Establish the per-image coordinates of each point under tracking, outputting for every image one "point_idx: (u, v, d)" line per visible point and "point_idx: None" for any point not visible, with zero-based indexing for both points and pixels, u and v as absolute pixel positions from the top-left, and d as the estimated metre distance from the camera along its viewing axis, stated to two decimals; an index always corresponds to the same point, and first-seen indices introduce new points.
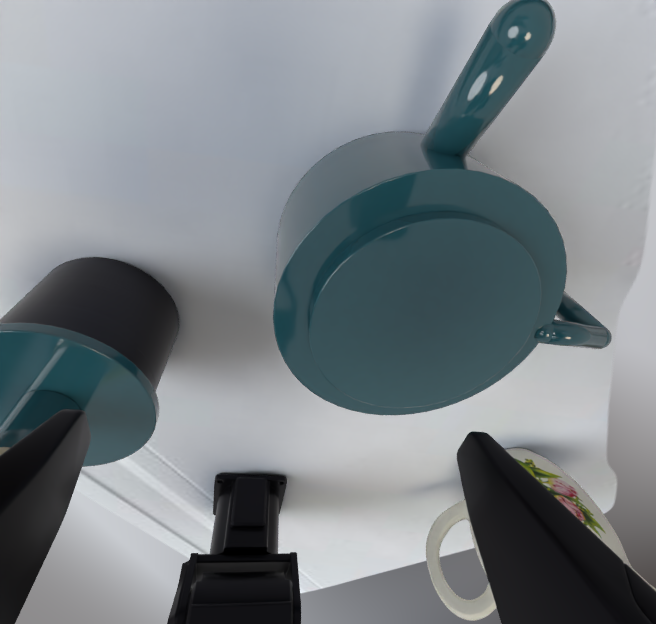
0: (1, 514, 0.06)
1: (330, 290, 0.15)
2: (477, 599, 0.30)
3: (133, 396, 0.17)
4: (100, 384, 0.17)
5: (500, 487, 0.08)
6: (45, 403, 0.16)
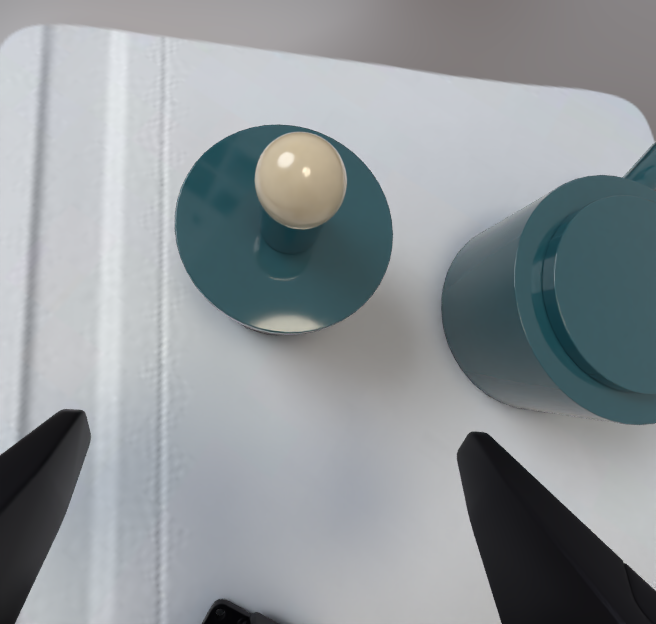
0: (1, 514, 0.06)
1: (582, 218, 0.18)
2: None
3: (376, 249, 0.16)
4: (358, 221, 0.16)
5: (500, 487, 0.08)
6: None
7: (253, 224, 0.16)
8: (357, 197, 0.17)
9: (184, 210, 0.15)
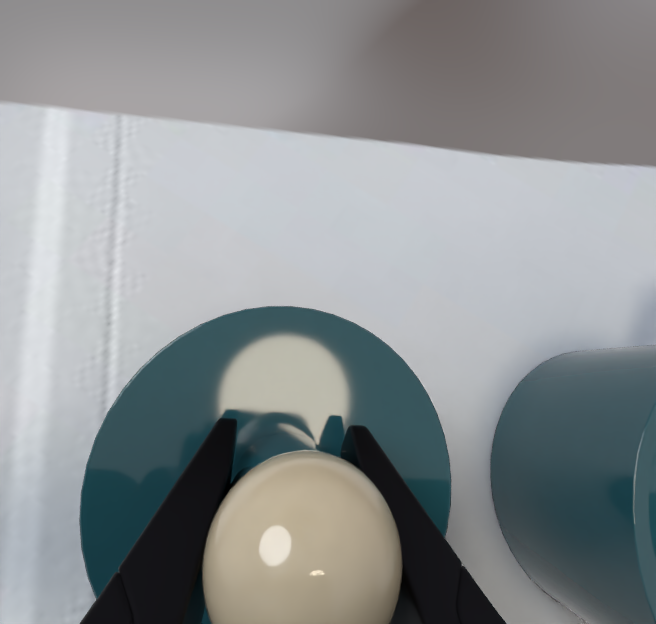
0: None
1: None
2: None
3: None
4: (396, 465, 0.10)
5: None
6: None
7: None
8: (394, 422, 0.10)
9: (98, 482, 0.09)
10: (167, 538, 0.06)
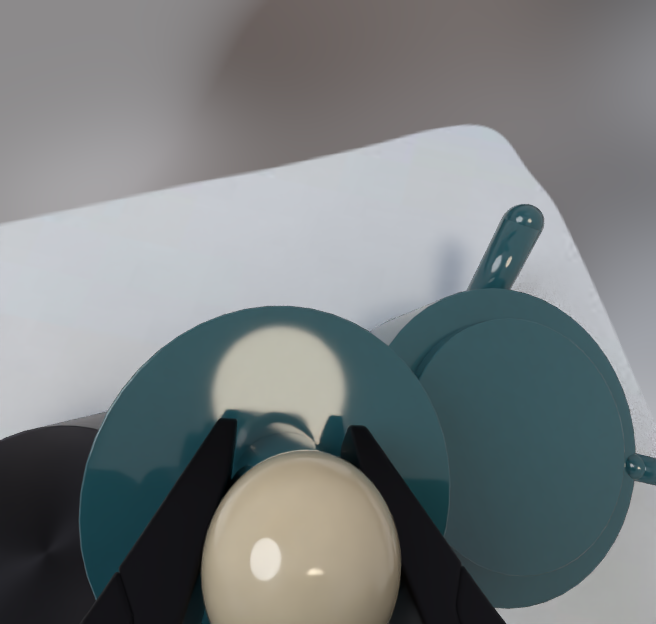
0: None
1: (427, 380, 0.15)
2: None
3: None
4: (395, 465, 0.10)
5: None
6: None
7: None
8: (393, 422, 0.10)
9: (97, 482, 0.09)
10: (167, 538, 0.06)
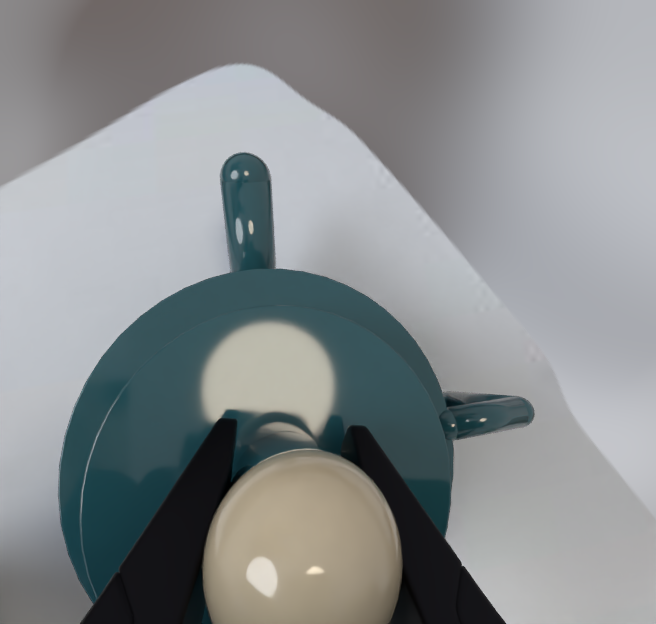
0: None
1: None
2: None
3: None
4: (396, 464, 0.10)
5: None
6: None
7: None
8: (394, 421, 0.10)
9: (98, 481, 0.09)
10: (167, 538, 0.06)
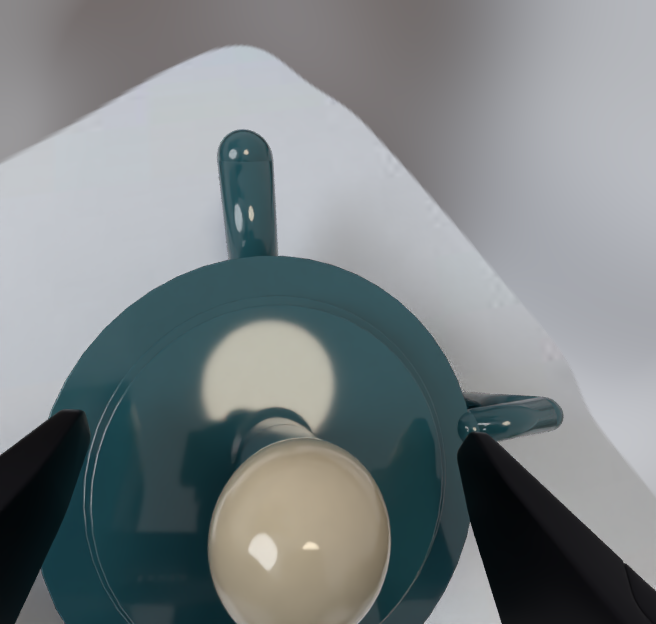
0: (1, 514, 0.06)
1: None
2: None
3: (418, 501, 0.10)
4: (390, 456, 0.11)
5: (500, 487, 0.08)
6: None
7: (223, 482, 0.10)
8: (388, 415, 0.11)
9: (107, 470, 0.09)
10: None
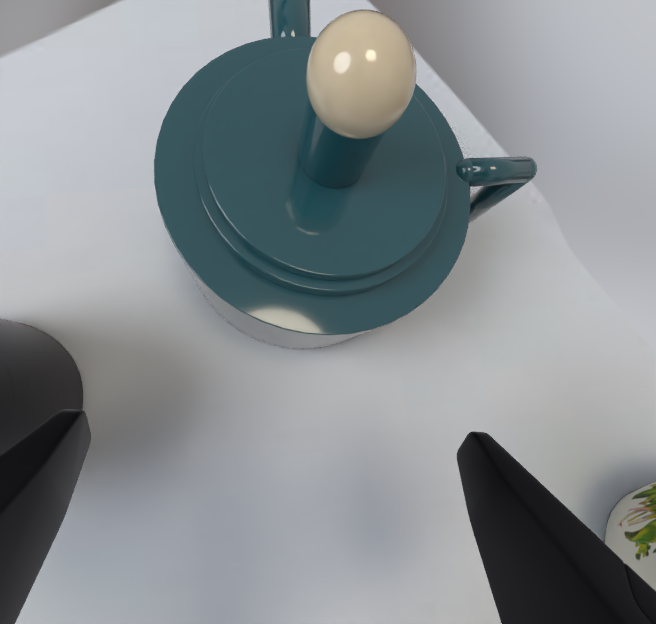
0: (1, 514, 0.06)
1: None
2: None
3: (428, 186, 0.15)
4: (407, 155, 0.15)
5: (500, 487, 0.08)
6: None
7: (291, 154, 0.14)
8: (405, 128, 0.15)
9: (213, 135, 0.13)
10: None
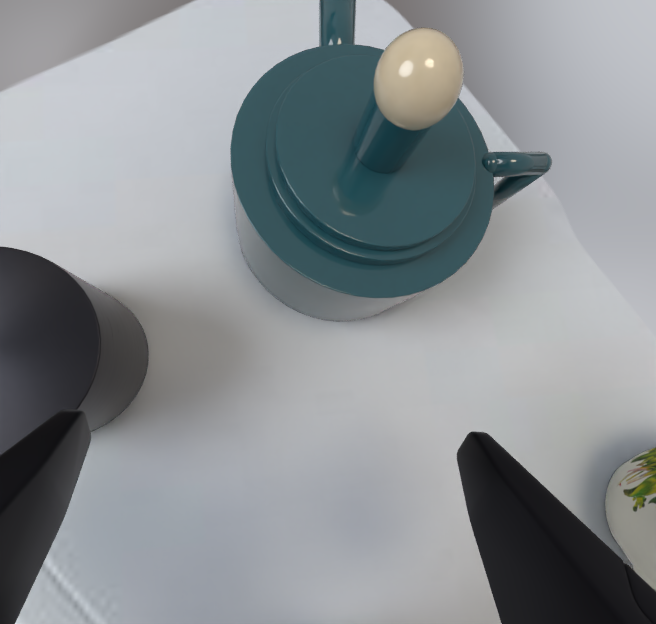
0: (1, 514, 0.06)
1: (275, 125, 0.16)
2: None
3: (460, 173, 0.17)
4: (443, 146, 0.17)
5: (500, 487, 0.08)
6: None
7: (347, 144, 0.16)
8: (441, 124, 0.17)
9: (284, 127, 0.16)
10: None
